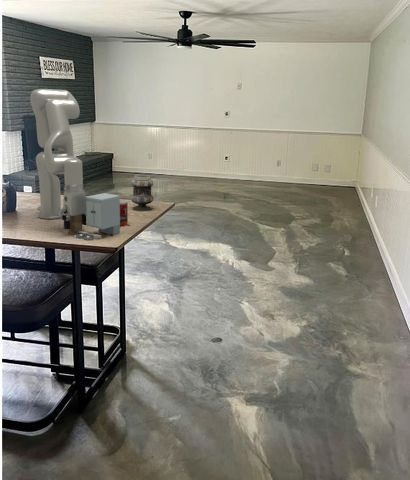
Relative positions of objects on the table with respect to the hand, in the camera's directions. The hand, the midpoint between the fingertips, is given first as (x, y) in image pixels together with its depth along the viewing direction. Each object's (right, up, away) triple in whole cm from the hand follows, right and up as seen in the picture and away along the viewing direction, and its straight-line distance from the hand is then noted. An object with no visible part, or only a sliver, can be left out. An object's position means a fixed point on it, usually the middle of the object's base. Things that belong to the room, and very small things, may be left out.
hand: (75, 226), depth 212 cm
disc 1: (+4, -5, -5) cm, 8 cm away
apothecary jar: (+23, +11, +50) cm, 56 cm away
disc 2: (+7, -6, -7) cm, 12 cm away
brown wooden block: (+5, -4, -2) cm, 7 cm away
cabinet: (+12, -3, +1) cm, 13 cm away
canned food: (+16, +2, +18) cm, 24 cm away
